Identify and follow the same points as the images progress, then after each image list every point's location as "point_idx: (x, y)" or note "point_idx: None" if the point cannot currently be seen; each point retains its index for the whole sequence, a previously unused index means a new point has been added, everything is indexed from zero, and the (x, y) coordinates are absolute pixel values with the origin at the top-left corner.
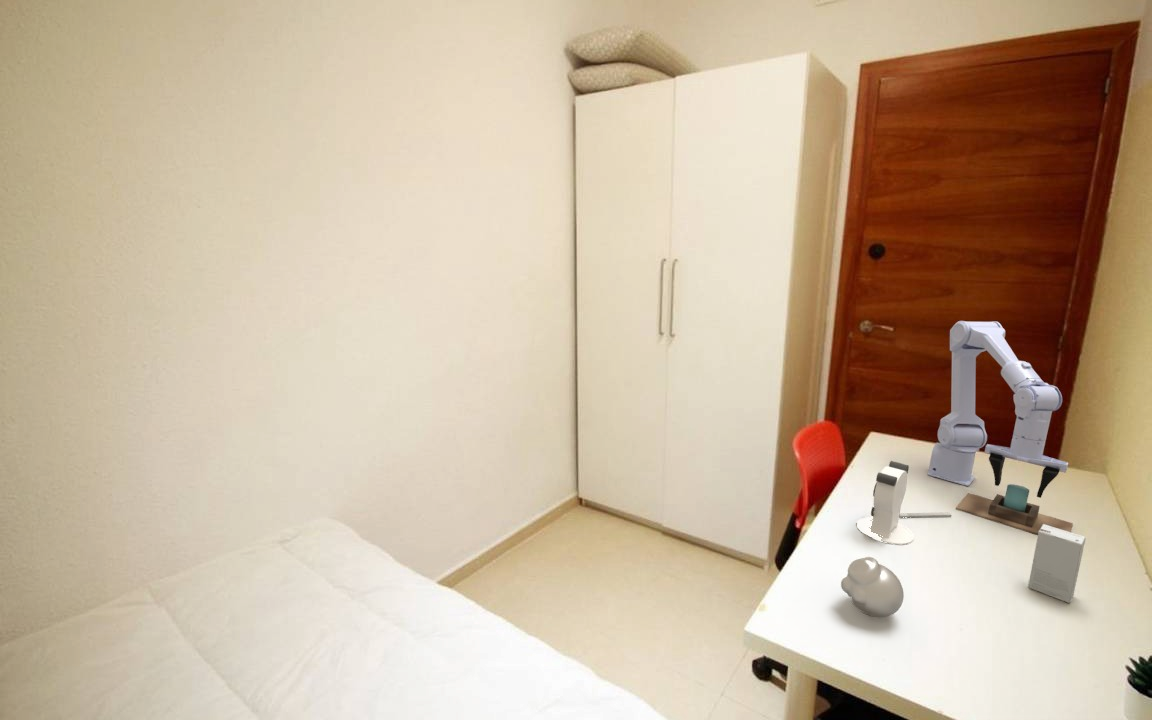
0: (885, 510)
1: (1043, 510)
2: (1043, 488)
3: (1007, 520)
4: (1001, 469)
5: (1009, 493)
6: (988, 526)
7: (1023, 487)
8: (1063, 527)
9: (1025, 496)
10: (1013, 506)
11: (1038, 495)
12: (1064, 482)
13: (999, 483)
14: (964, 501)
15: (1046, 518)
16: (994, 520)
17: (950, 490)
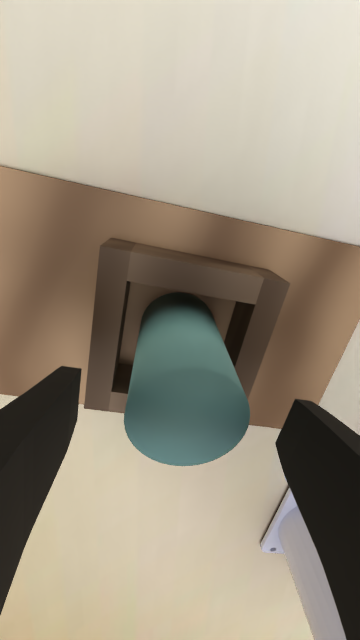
0: None
1: (81, 445)
2: (9, 409)
3: (199, 254)
4: (351, 557)
5: (228, 360)
6: (282, 133)
7: (156, 450)
8: (6, 330)
9: (144, 362)
10: (189, 315)
11: (68, 371)
12: (48, 632)
13: (288, 430)
14: (336, 344)
15: None
16: (250, 222)
17: (354, 422)
